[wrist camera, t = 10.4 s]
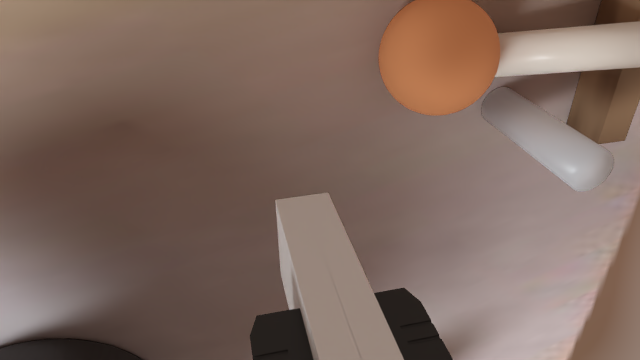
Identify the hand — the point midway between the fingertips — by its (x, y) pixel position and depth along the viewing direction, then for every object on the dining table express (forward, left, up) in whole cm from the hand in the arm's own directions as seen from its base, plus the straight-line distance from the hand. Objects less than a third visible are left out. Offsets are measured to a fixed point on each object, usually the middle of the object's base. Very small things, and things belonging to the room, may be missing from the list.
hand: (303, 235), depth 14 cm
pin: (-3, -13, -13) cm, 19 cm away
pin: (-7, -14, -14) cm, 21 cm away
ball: (-1, -9, -11) cm, 15 cm away
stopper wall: (-6, -21, -14) cm, 26 cm away
